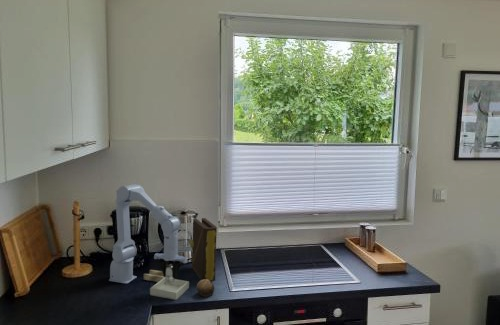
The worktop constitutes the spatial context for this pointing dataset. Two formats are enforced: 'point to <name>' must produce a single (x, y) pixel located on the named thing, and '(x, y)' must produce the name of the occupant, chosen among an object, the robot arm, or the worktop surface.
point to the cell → (169, 274)
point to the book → (204, 249)
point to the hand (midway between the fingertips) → (170, 276)
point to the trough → (154, 276)
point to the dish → (169, 289)
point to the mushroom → (205, 287)
